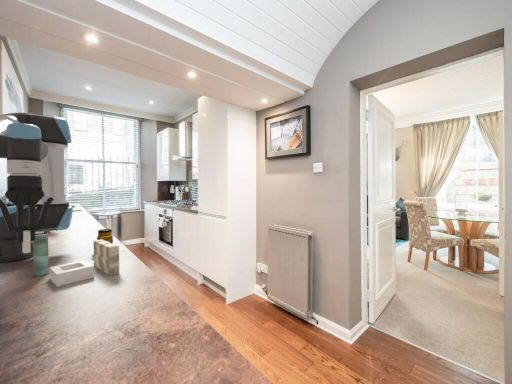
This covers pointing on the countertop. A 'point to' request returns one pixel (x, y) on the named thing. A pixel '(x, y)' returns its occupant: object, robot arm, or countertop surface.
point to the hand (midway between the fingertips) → (26, 252)
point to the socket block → (71, 272)
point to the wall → (106, 256)
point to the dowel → (40, 255)
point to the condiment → (104, 236)
